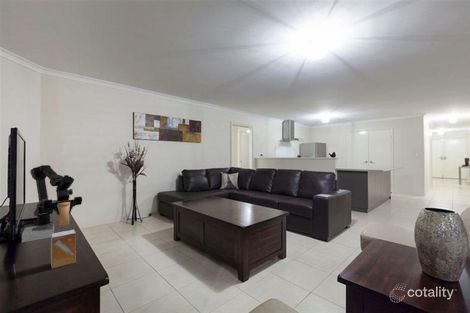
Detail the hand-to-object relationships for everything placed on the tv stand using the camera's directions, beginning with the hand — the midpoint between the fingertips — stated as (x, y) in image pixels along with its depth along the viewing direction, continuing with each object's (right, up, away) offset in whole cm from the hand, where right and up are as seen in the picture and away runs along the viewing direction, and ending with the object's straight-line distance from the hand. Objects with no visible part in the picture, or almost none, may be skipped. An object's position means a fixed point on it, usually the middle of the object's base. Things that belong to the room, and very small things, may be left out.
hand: (64, 214), depth 130 cm
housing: (-12, -12, -4) cm, 17 cm away
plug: (-1, -7, +1) cm, 7 cm away
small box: (+28, -12, -36) cm, 47 cm away
